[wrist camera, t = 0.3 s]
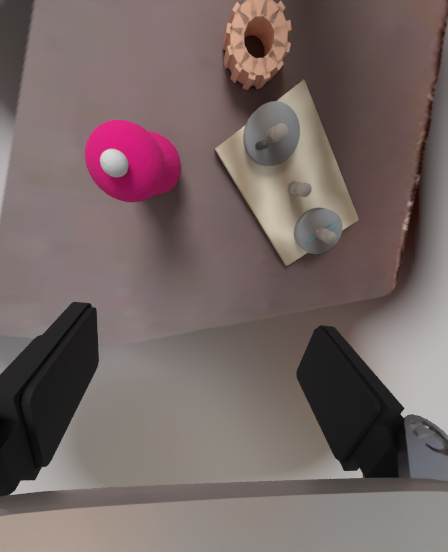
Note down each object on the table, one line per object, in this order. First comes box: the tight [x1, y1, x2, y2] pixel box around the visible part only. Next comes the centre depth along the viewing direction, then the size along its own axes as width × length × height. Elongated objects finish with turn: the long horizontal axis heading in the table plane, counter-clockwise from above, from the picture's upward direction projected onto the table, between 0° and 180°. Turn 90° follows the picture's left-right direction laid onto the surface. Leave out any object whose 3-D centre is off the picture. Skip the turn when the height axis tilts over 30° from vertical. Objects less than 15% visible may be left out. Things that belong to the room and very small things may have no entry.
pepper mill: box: [85, 120, 181, 202], centre depth 24 cm, size 7×7×20 cm
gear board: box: [214, 80, 359, 266], centre depth 33 cm, size 14×23×6 cm, turn 34°
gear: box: [223, 0, 292, 90], centre depth 27 cm, size 7×7×4 cm
